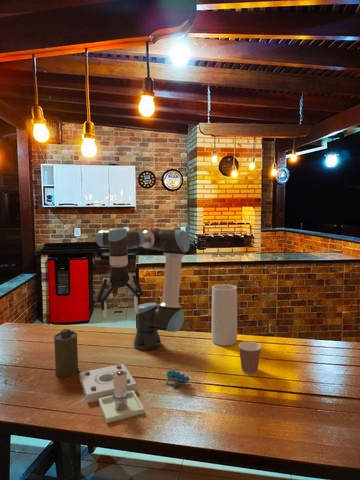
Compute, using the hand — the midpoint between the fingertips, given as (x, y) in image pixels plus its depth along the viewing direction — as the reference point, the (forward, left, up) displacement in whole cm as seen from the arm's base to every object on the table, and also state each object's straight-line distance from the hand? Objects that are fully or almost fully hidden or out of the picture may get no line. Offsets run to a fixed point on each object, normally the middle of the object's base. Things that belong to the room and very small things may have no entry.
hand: (121, 314), depth 145 cm
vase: (-65, -21, -31) cm, 75 cm away
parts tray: (+5, +18, -31) cm, 36 cm away
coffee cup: (-57, +14, -31) cm, 66 cm away
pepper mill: (+5, +18, -30) cm, 35 cm away
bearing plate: (+6, -1, -31) cm, 31 cm away
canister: (+20, -22, -31) cm, 43 cm away
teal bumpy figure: (-21, +11, -31) cm, 39 cm away
